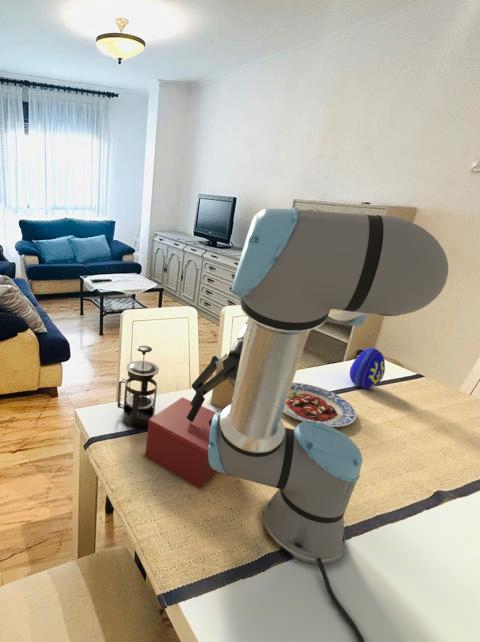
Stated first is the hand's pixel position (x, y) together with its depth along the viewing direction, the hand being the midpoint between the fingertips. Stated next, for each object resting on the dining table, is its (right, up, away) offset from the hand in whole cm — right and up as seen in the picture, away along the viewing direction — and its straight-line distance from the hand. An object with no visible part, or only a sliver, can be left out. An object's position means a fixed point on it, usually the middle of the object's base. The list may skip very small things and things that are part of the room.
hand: (206, 429), depth 89 cm
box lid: (-2, 0, +5) cm, 5 cm away
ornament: (+68, +3, +51) cm, 85 cm away
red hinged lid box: (-3, -9, +9) cm, 13 cm away
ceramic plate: (+41, -2, +34) cm, 53 cm away
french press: (-15, -3, +23) cm, 28 cm away
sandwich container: (+17, -1, +33) cm, 37 cm away
